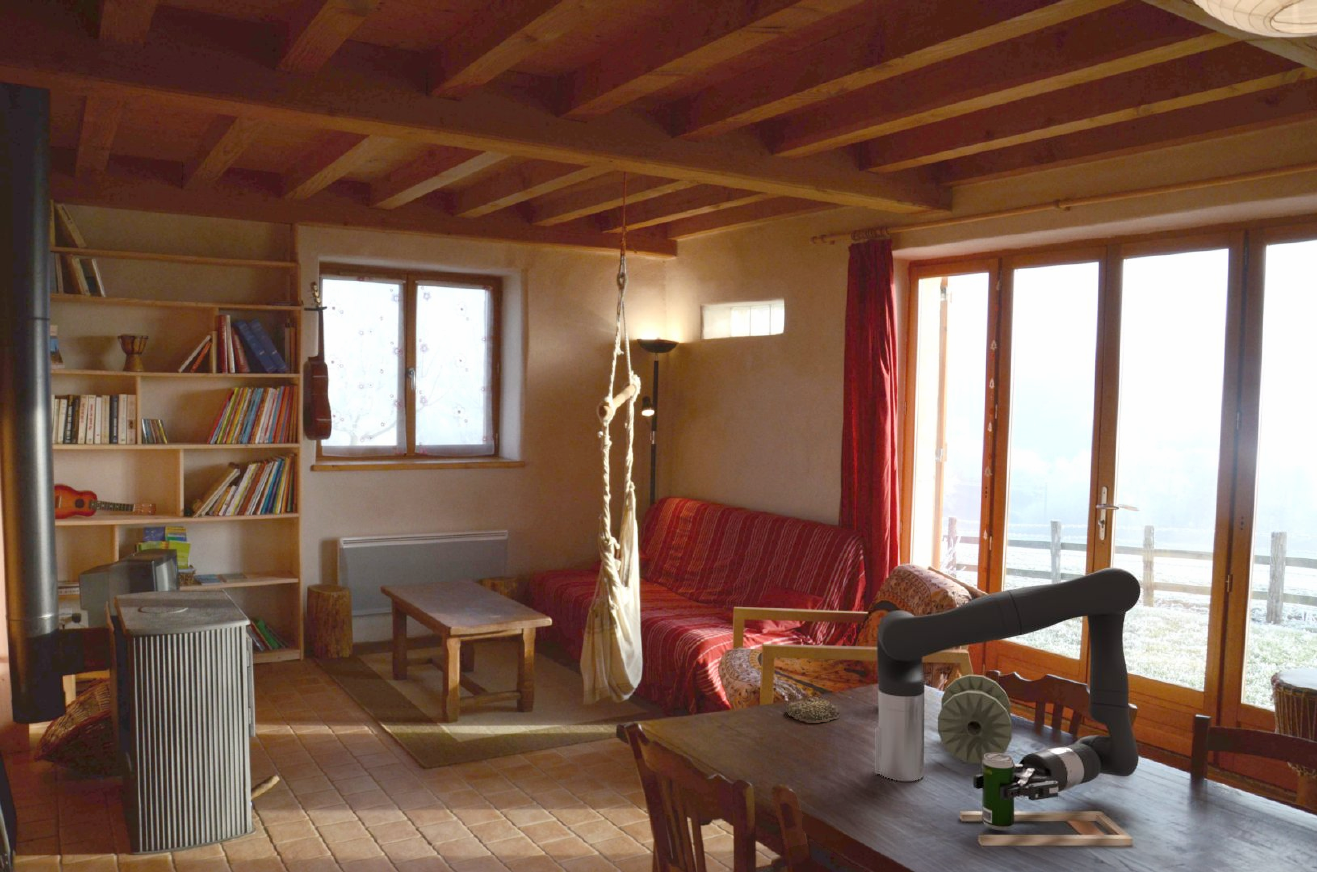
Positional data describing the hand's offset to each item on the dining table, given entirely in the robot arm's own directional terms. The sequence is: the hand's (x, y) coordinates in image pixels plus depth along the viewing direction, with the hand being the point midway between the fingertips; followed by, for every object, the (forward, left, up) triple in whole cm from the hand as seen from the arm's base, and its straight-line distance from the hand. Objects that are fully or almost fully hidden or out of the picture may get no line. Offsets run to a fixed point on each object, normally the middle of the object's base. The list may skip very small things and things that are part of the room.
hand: (988, 788), depth 175 cm
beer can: (+1, +2, -7) cm, 8 cm away
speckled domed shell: (-52, +53, -9) cm, 75 cm away
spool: (-12, +45, -8) cm, 47 cm away
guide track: (+8, +6, -8) cm, 13 cm away
